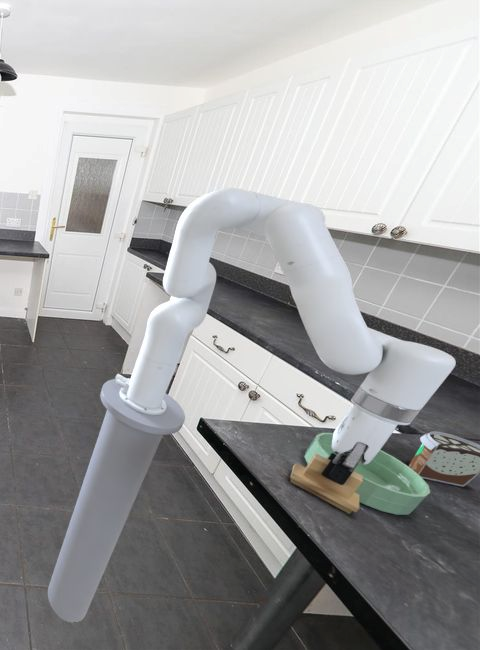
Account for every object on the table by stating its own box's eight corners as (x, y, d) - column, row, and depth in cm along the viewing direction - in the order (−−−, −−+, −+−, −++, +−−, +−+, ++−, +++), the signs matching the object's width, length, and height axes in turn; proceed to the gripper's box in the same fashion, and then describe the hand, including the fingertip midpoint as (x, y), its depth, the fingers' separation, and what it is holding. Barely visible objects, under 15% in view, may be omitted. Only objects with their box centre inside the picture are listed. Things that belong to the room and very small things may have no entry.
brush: (287, 481, 73) (304, 456, 70) (290, 470, 76) (306, 445, 73) (352, 516, 66) (374, 490, 63) (352, 503, 69) (373, 477, 66)
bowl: (299, 473, 75) (312, 453, 73) (307, 440, 86) (319, 423, 84) (415, 533, 64) (435, 513, 62) (407, 487, 75) (424, 468, 72)
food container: (442, 467, 82) (470, 436, 78) (471, 488, 76) (503, 456, 73) (384, 455, 84) (408, 424, 80) (408, 475, 78) (436, 443, 74)
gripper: (355, 381, 69) (311, 447, 76) (353, 410, 59) (303, 483, 66) (410, 400, 64) (358, 469, 71) (419, 435, 54) (357, 511, 61)
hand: (332, 475), depth 69 cm, fingers closed on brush, 2 cm apart
